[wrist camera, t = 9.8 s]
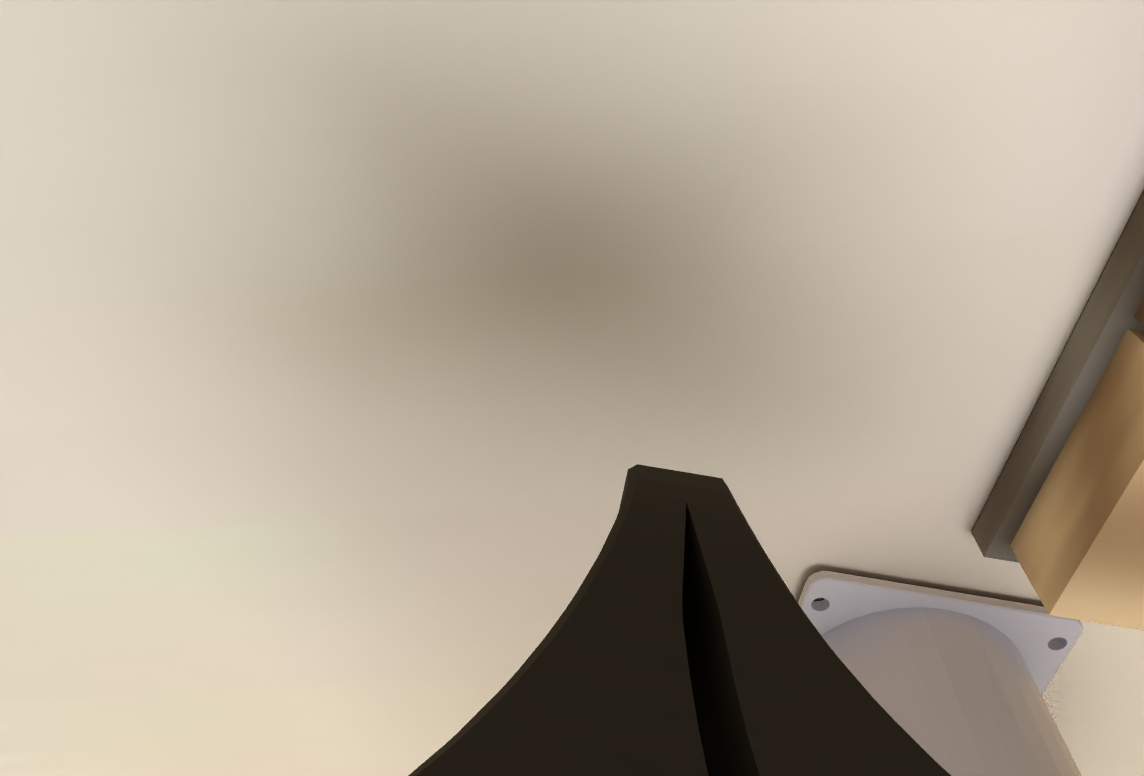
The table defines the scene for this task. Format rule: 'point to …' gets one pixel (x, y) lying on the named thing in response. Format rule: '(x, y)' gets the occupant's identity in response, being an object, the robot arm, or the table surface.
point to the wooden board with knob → (1084, 461)
